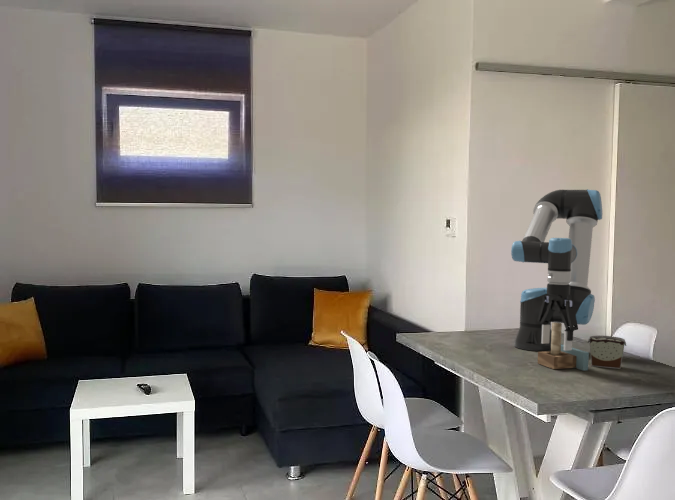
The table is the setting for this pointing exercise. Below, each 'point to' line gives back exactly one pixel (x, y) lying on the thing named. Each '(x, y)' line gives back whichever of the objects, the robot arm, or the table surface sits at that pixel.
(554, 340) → the dowel
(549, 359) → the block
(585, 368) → the wall
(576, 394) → the table surface
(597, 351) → the food container
